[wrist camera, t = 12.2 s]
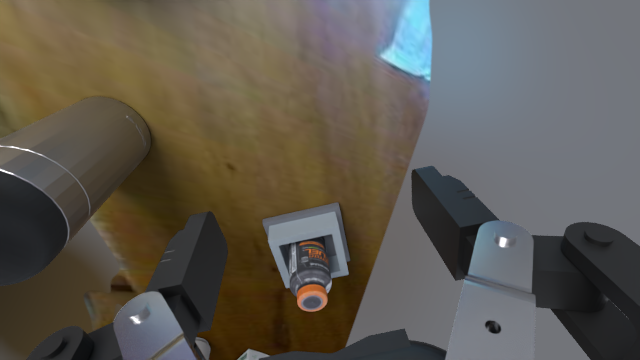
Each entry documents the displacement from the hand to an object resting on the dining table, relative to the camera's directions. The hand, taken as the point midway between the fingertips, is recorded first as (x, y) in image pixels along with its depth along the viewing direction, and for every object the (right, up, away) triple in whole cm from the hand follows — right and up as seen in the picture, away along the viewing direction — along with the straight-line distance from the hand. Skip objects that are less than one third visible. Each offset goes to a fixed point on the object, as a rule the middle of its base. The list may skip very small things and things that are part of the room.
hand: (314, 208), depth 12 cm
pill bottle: (-2, -9, +37) cm, 38 cm away
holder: (-2, -9, +37) cm, 39 cm away
